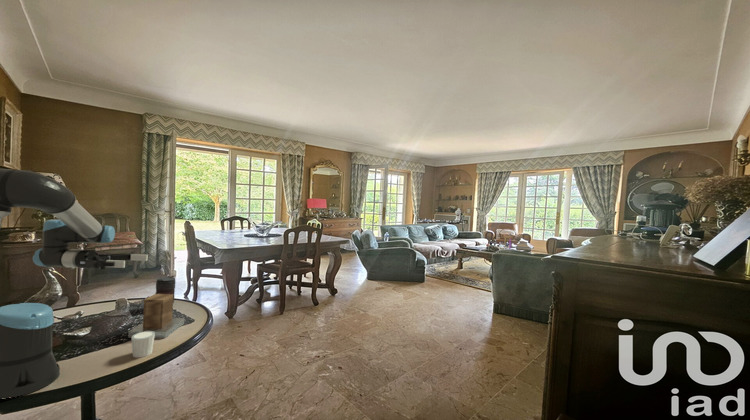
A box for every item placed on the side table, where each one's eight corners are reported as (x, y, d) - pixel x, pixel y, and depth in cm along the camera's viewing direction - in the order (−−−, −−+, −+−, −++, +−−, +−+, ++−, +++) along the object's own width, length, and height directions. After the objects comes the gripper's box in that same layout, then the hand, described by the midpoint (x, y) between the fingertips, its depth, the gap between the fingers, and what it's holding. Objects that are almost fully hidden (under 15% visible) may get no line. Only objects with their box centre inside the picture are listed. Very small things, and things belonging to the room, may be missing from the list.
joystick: (128, 337, 118) (129, 314, 118) (151, 323, 132) (151, 302, 132) (165, 338, 120) (166, 315, 120) (184, 323, 134) (184, 303, 134)
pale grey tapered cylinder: (144, 359, 104) (145, 339, 104) (125, 357, 105) (126, 338, 104) (158, 349, 111) (159, 331, 111) (141, 348, 111) (141, 330, 111)
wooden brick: (142, 328, 122) (144, 299, 122) (154, 320, 129) (155, 293, 129) (161, 328, 123) (163, 300, 122) (172, 321, 130) (173, 294, 130)
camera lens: (164, 311, 146) (165, 281, 146) (150, 309, 148) (152, 279, 147) (178, 305, 154) (179, 277, 153) (165, 303, 156) (166, 275, 155)
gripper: (105, 261, 135) (154, 263, 137) (51, 275, 110) (112, 277, 112) (105, 245, 134) (155, 247, 137) (52, 255, 110) (113, 257, 112)
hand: (136, 260), depth 124 cm, fingers open, 13 cm apart
